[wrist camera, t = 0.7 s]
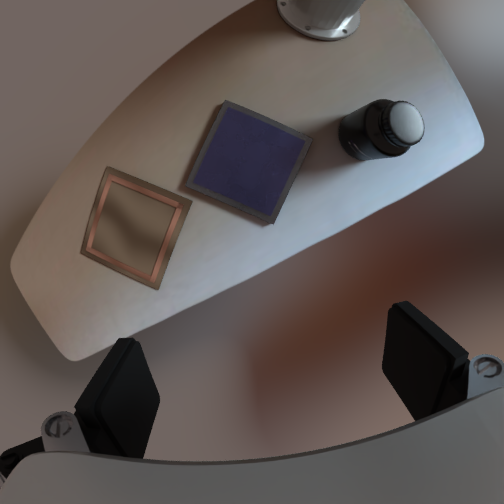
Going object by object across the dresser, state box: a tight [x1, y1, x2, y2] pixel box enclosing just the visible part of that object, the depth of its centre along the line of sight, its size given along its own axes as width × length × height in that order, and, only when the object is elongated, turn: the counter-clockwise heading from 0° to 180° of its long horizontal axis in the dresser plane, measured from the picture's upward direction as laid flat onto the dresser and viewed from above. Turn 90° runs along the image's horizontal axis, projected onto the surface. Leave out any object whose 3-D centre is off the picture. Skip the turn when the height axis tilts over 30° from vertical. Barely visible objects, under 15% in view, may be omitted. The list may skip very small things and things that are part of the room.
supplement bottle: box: [339, 99, 424, 160], centre depth 29 cm, size 7×7×12 cm
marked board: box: [81, 166, 192, 290], centre depth 36 cm, size 13×13×1 cm
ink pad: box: [185, 100, 313, 225], centre depth 34 cm, size 12×12×2 cm
